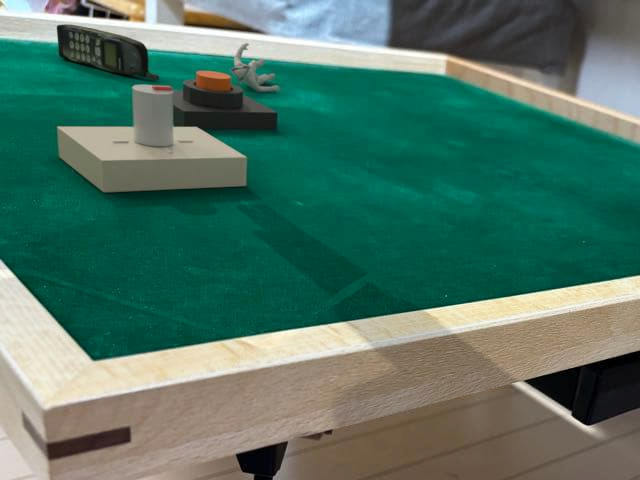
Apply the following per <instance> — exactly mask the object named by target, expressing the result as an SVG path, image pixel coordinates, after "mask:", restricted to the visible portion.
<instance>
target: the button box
mask: <svg viewBox="0 0 640 480" xmlns="http://www.w3.org/2000/svg"><path fill="white" fill-rule="evenodd" d="M172 91H173V125H176V126H177V127H198V128H199V129H201V130H203V131H237V130H238V131H277V130H278V117H279V116H278V114H279V113H278V112H277V111H275V110H274V109H271V108H270V107H268V106H266V105H265V104H262V103H260V102H258V101H256V100H255V99H252V98H250V97H249V96H246V95H245V94H244V88H242V87H240V86H238V85H236V84H233V83H231V91H215V90H209V89H204V88H200V87H197V86H196V78H193V79H186V80H184V81H183V83H182V90H178V89H172Z"/></svg>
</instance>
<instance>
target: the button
mask: <svg viewBox="0 0 640 480" xmlns="http://www.w3.org/2000/svg"><path fill="white" fill-rule="evenodd" d="M195 75H196V77H195V79H196V86H197V87H200V88H204V89H209V90H215V91H231V84H232V77H231V75H229V74H227V73H223V72H219V71H212V70H197V71H196V74H195Z"/></svg>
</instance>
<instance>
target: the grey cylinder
mask: <svg viewBox="0 0 640 480" xmlns="http://www.w3.org/2000/svg"><path fill="white" fill-rule="evenodd" d="M172 90H173V87H172V86H170V85H157V84H155V85H154V84H134V85H132V87H131V91H132V93H131V95H132V127H133V132H134V141H135V142H137V143H140V144H143V145H148V146H157V147H164V146H170V145H173V143H174V134H173V127H174V123H173V91H172Z"/></svg>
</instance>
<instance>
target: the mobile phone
mask: <svg viewBox="0 0 640 480" xmlns="http://www.w3.org/2000/svg"><path fill="white" fill-rule="evenodd" d="M56 34H57V35H56V37H57V46H58V47H57V48H58V57H60V58H62V59H64V60H67V61H70V62H73V63H77V64H81V65H85V66H88V67H92V68H95V69H98V70H103V71H105V72H109V73H113V74H117V75H124V76H138V77H141V78H142V77H143V78H147V79H151V80H155V81H159V80H160V76H159V74H154V73H152V72H150V71H149V52H148V48H147V46H146V45H145V44H144V43H143V42H141V41H140V40H137V39H134V38H131V37H129V36H126V35H125V36H124V35H121V34H117V33H113V32H109V31H105V30H100V29H97V28H93V27H86V26H82V25H75V24H69V23H68V24H67V23H65V24H64V23H63V24H57V25H56Z"/></svg>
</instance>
